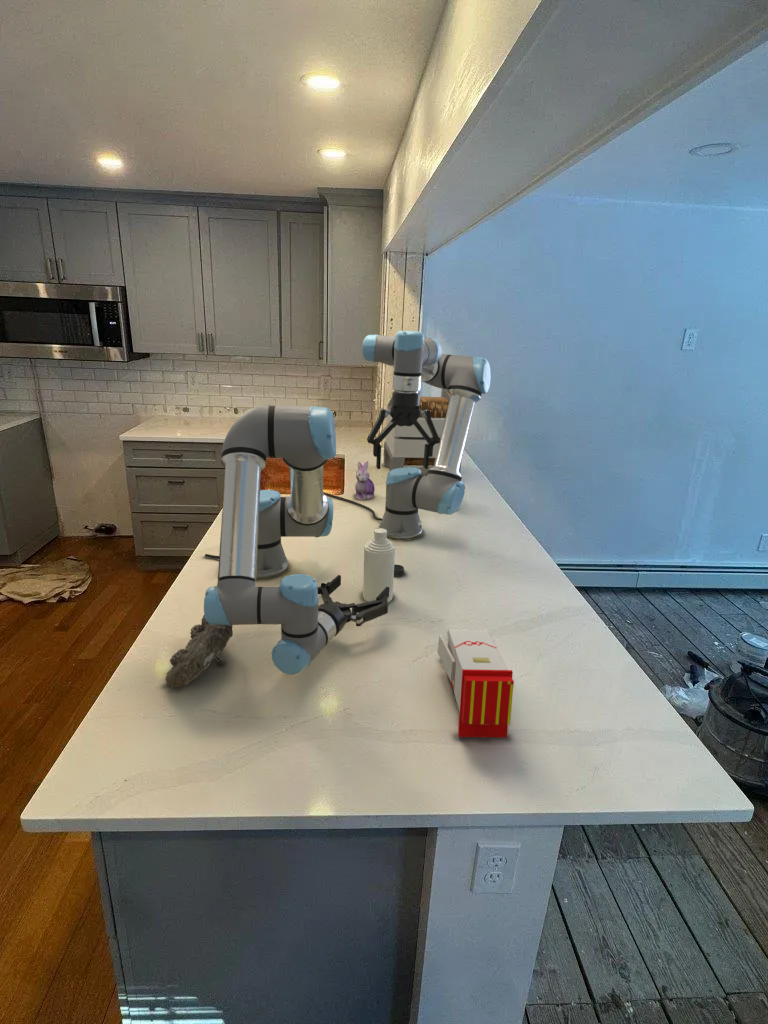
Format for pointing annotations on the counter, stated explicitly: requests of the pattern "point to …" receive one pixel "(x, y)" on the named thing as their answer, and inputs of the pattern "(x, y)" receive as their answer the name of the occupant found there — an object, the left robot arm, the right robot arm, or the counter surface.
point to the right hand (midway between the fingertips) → (402, 467)
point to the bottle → (378, 566)
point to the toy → (478, 682)
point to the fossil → (198, 652)
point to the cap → (398, 570)
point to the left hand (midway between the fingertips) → (363, 585)
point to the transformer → (415, 435)
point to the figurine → (363, 483)
